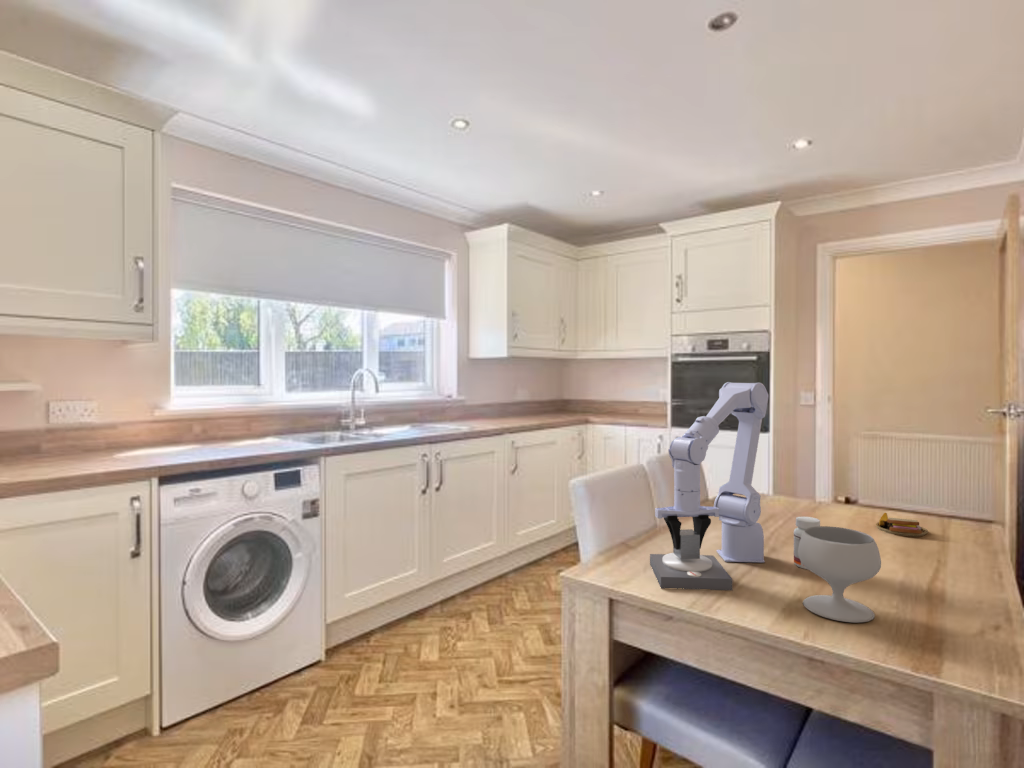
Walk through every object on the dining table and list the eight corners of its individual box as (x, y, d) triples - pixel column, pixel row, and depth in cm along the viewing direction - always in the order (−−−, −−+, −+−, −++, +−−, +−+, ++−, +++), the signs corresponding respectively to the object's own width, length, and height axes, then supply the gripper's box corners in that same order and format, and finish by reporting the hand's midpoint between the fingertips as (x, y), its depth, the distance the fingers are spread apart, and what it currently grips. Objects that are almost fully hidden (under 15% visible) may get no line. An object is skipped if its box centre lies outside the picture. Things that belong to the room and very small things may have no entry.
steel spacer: (691, 552, 130) (691, 529, 130) (699, 558, 126) (699, 534, 126) (673, 553, 130) (673, 529, 130) (680, 559, 126) (680, 535, 126)
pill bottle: (827, 567, 132) (828, 520, 131) (813, 572, 128) (814, 524, 128) (802, 559, 137) (802, 514, 137) (788, 564, 133) (788, 518, 133)
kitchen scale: (713, 565, 133) (713, 552, 133) (732, 590, 118) (732, 575, 118) (649, 564, 134) (649, 550, 134) (660, 588, 120) (660, 573, 119)
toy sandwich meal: (930, 530, 161) (930, 514, 161) (925, 541, 151) (925, 524, 151) (879, 523, 170) (879, 507, 170) (871, 533, 160) (871, 516, 160)
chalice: (785, 595, 115) (785, 524, 115) (853, 596, 115) (853, 524, 115) (820, 626, 101) (820, 545, 101) (898, 627, 101) (898, 546, 101)
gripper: (709, 485, 132) (709, 541, 132) (650, 486, 131) (650, 543, 131) (723, 491, 125) (723, 551, 125) (661, 493, 124) (661, 553, 124)
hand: (687, 547), depth 128 cm, fingers closed on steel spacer, 4 cm apart
